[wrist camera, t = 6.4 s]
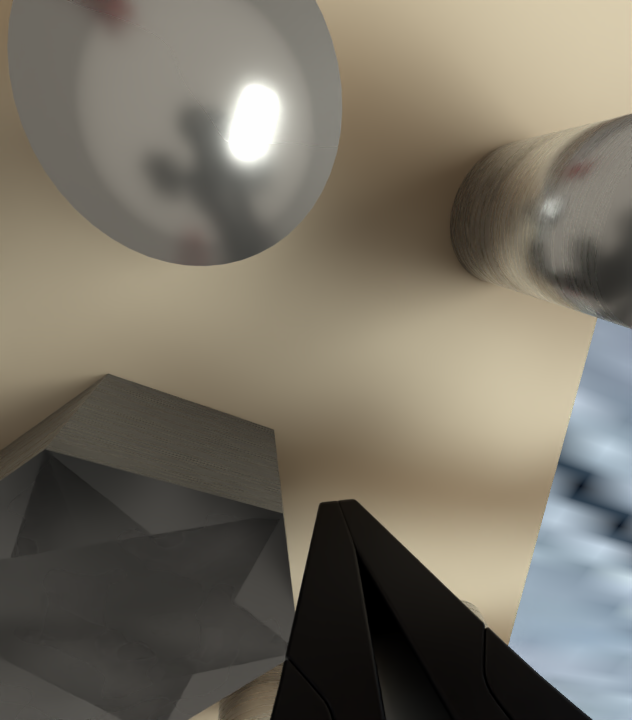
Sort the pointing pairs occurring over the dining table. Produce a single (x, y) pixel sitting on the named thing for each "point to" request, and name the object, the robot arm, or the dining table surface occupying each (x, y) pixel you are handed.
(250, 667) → the dark grey hexagonal block
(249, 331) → the board
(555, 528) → the dining table surface
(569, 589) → the dining table surface
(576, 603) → the dining table surface
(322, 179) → the steel spacers
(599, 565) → the dining table surface
